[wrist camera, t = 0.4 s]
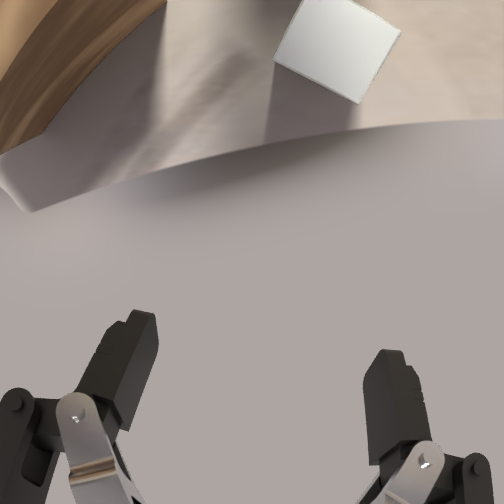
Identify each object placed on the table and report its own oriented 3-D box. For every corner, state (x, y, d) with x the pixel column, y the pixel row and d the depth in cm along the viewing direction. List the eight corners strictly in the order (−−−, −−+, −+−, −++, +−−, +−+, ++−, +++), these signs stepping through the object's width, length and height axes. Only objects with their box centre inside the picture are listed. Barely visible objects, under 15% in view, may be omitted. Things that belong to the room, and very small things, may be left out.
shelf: (-6, 67, 30) (-92, 94, 16) (102, -65, 20) (15, -98, 6) (41, 133, 36) (-46, 182, 22) (167, 0, 26) (84, -29, 12)
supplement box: (272, 60, 30) (267, 59, 20) (303, 6, 26) (313, -23, 16) (333, 92, 31) (358, 108, 21) (364, 39, 27) (404, 30, 17)
